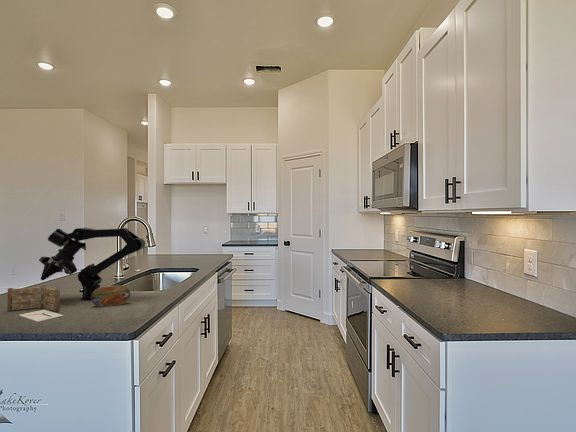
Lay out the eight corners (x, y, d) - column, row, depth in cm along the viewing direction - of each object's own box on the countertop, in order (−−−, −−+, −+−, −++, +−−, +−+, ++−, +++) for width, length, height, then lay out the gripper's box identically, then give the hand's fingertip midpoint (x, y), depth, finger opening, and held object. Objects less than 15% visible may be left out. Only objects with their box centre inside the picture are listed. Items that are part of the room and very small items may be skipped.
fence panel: (40, 306, 144) (40, 285, 144) (40, 307, 143) (40, 286, 142) (7, 309, 139) (8, 288, 139) (6, 310, 137) (7, 289, 137)
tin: (90, 307, 145) (91, 287, 145) (91, 306, 148) (91, 286, 148) (130, 304, 152) (130, 285, 152) (129, 302, 155) (130, 283, 155)
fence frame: (60, 311, 139) (60, 289, 139) (55, 312, 137) (55, 289, 137) (44, 306, 145) (44, 285, 145) (39, 307, 143) (39, 286, 143)
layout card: (63, 315, 133) (63, 314, 133) (37, 322, 125) (37, 320, 125) (44, 310, 140) (44, 309, 140) (19, 315, 132) (19, 314, 132)
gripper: (93, 264, 158) (67, 293, 148) (69, 260, 167) (44, 287, 157) (75, 248, 151) (48, 277, 141) (52, 245, 160) (24, 273, 150)
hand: (41, 279), depth 148 cm, fingers closed
